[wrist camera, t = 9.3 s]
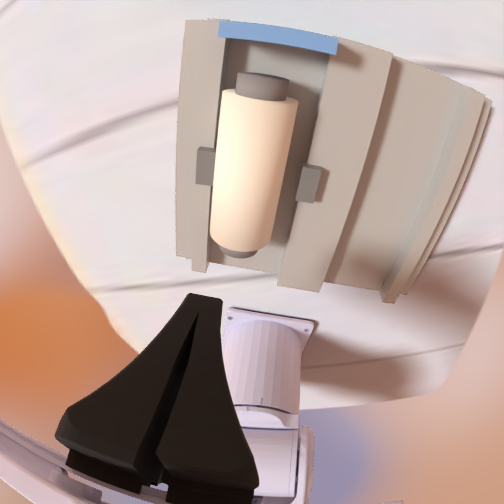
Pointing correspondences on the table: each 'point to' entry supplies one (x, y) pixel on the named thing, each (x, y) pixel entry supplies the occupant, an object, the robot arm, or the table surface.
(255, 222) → the cream cylinder
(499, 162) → the table surface
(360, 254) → the beige mounting plate
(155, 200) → the table surface
